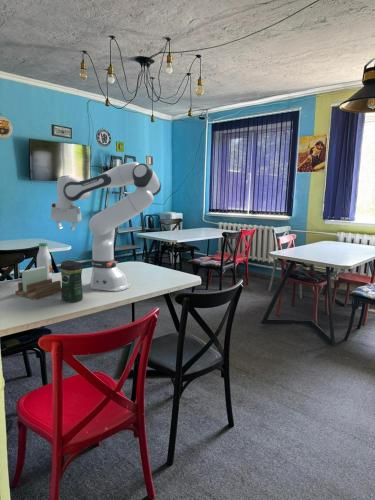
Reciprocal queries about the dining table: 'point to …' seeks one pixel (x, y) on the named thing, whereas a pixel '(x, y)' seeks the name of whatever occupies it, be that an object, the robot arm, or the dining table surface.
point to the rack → (39, 289)
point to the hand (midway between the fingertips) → (66, 229)
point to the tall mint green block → (33, 276)
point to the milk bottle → (44, 258)
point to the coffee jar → (71, 281)
